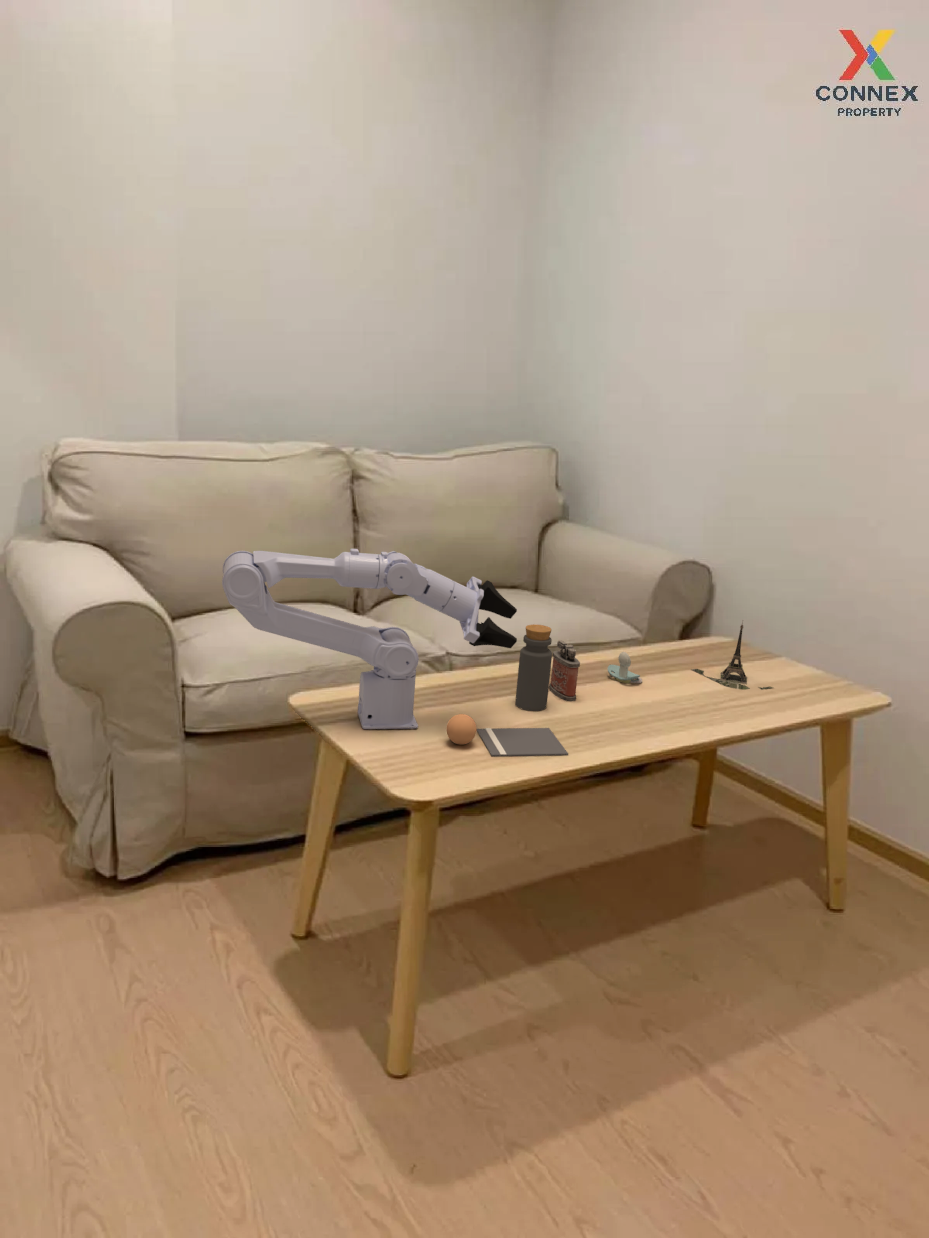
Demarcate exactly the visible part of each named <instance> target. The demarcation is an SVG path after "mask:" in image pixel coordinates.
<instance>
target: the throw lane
mask: <svg viewBox="0 0 929 1238" xmlns="http://www.w3.org/2000/svg"><path fill="white" fill-rule="evenodd" d="M476 733H477V734H478V736H479V737H480V739H481V741H482V743H483V744H484V746H485V748H486V750H487V751H488V753H489V755H490V756H491V757H537V756H538V757H542V756H543V757H544V756H545V757H546V756H548V757H549V756H551V757H552V756H569V752H568V751H567V749H566V748H565V747H564V746H563V744H562V742H560V740H559V739H558V738H557V736H556V735H555V734H554V732H553V731H552V730H551V728H550V727H517V728H516V727H511V728H510V727H504V728H503V727H502V728H501V727H500V728H499V727H498V728H497V727H495V728H491V727H486V728H485V727H484V728H477V731H476Z"/></svg>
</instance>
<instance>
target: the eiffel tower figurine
mask: <svg viewBox="0 0 929 1238" xmlns="http://www.w3.org/2000/svg"><path fill="white" fill-rule="evenodd" d="M743 622H744V620H742V623H741V624H740V627H739V628H740V630H739V634H738V638H737V643H736V649H735V651H734V653H733V657H732V658H731V661H730V662H729V663H728V665H727V667H726V668H725V669H723V671H722V672H720V677H719V678H716V677H711V676H710V677H709V676H706V674H704V673H705V670H703V669H699V668H691V669H690V670H691V671H692V672H693V671H694V672H696V673H697V674H699V675H701V676H703V677H705V678H708V679H710V680H711V681H713V682H716V683H718V684H720V685H721V686H723V687H726V688H730V689H735V690H741V691H742V690H744V691H745V690H750V689H751V688H750V687H749V686H748V685H747V684H748V676H747V675H746V674H745V671H744V669H743V664H742V661H741V660H742V654H741V647H742V637H743V629H744V625H743V624H744V623H743ZM736 660H737V663H735V662H736ZM734 673H735V674H734ZM746 685H747V686H746ZM757 688H758V689H760V690H761V691H762V690H769V689H773V688H774V687H773V686H763V687H760V686H757Z"/></svg>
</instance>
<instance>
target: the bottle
mask: <svg viewBox="0 0 929 1238" xmlns="http://www.w3.org/2000/svg"><path fill="white" fill-rule="evenodd" d="M551 633H552V628H551V627H549V626H547V625H544V624H543V625H542V624H535V623H534V624H527V625H526V626H525V634H524V635H523V640H522V641H523V643H524V644H525V646H523V647H522V648H520V651H519V659H518V660H519V661H518V667H517V668H518V670H517V681H516V689H515V690H516V691H515V701H514V702H515V707H518V709H521V710H524V711H530V712H538V711H544V710H545V709H546V708H547V706H548V705H547V704H548V698H549V696H548V695H549V690H550V689H549V684H550V681H551V671H552V661H553V656H552V655H553V651H552V650H551V649H549V647H550V646H551V644H552V641H553V640H552V637H550V636H551Z"/></svg>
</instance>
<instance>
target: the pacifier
mask: <svg viewBox="0 0 929 1238" xmlns="http://www.w3.org/2000/svg"><path fill="white" fill-rule="evenodd" d="M617 658H618V662H619V665H617V664H609V665H608V666H607V673H608V674H609V676H611V677H613V678H615V680H616V681H618V682H619V683H623V684H642V682H643V679H642V677H641V675H640V674H637V673H634V672H632V671H630V670H629V667H630V666H631V663H632V659H631V657H630V655H629V654H628V653H627V652H626V651H622V652H620V653H619V655H618V657H617Z"/></svg>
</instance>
